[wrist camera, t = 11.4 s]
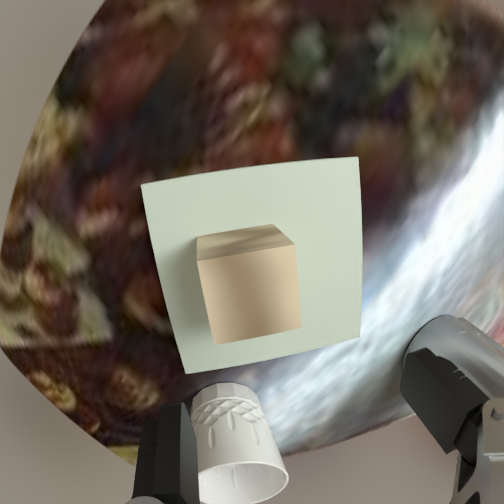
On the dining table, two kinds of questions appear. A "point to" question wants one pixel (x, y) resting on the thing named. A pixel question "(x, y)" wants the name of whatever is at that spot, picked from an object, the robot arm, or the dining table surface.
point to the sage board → (257, 214)
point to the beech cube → (249, 283)
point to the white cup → (235, 447)
